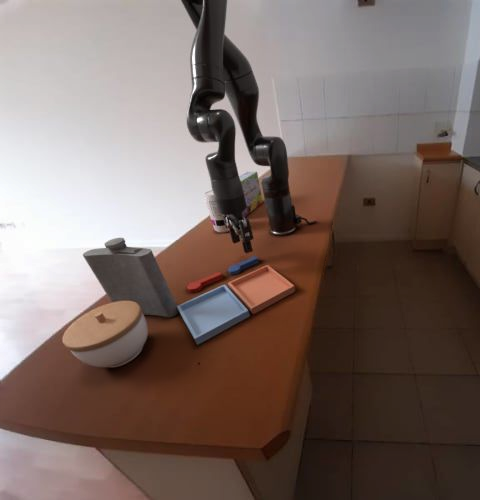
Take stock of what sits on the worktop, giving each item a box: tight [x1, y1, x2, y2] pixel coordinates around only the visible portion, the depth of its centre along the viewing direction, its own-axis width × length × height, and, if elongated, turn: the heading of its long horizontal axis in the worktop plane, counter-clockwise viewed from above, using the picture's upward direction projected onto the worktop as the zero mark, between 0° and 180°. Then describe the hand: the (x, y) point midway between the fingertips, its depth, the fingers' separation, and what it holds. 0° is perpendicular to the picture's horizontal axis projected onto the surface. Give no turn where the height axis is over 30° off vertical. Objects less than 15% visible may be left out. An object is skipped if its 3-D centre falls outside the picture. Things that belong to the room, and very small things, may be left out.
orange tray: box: [227, 264, 296, 315], centre depth 74 cm, size 12×14×2 cm
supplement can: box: [204, 189, 230, 234], centre depth 106 cm, size 8×8×15 cm
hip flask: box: [82, 237, 180, 318], centre depth 65 cm, size 16×4×20 cm, turn 83°
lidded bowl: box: [61, 301, 149, 368], centre depth 56 cm, size 13×13×11 cm
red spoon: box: [187, 271, 224, 294], centre depth 78 cm, size 9×4×2 cm, turn 131°
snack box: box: [239, 171, 264, 218], centre depth 121 cm, size 21×6×15 cm, turn 168°
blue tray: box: [177, 284, 251, 345], centre depth 67 cm, size 12×14×2 cm
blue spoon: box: [227, 255, 260, 276], centre depth 84 cm, size 9×4×2 cm, turn 131°
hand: (242, 246), depth 82 cm, fingers open, 8 cm apart
